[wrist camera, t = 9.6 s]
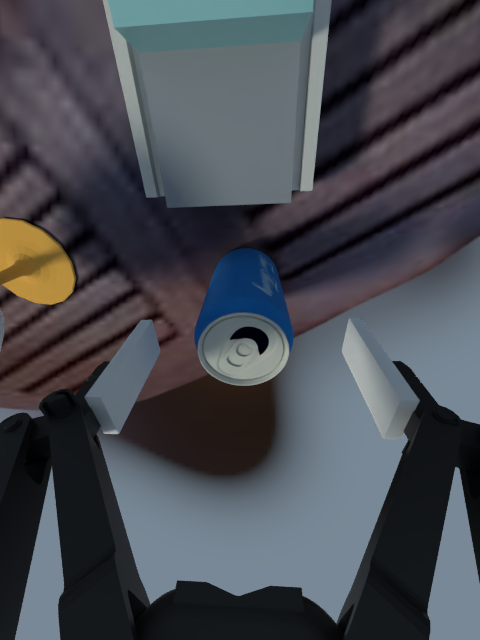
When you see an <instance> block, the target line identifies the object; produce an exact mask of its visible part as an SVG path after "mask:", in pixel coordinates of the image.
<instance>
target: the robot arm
mask: <svg viewBox="0 0 480 640" xmlns="http://www.w3.org/2000/svg"><path fill="white" fill-rule="evenodd" d="M342 353H343V355H344V357H345V359H346V362H347V364H348V366H349V368H350V370H351V372H352V374H353V376H354V378H355V381H356V383H357V385H358V387H359V389H360V391H361V393H362V395H363V397H364V399H365V402H366V404H367V406H368V408H369V410H370V412H371V414H372V416H373V419H374V421H375V423H376V425H377V427H378V429H379V431H380V433H381V435H382V437H383V439H390V440H391V439H392V440H400V439H401V437H402V435H403V433H405V435H406V436H407V438H408V442H407V444H406V445H405V447H404V449H403V451H402V457H401V459H400V462H399V465H398V467H397V470H396V473H395V475H394V478H393V481H392V483H391V486H390V488H389V491H388V493H387V496H386V499H385V501H384V504H383V507H382V509H381V512H380V515H379V517H378V520H377V522H376V525H375V528H374V530H373V533H372V535H371V538H370V541H369V543H368V546H367V549H366V551H365V554H364V557H363V559H362V562H361V564H360V567H359V570H358V572H357V575H356V578H355V580H354V583H353V585H352V588H351V590H350V592H349V594H348V597H347V599H346V601H345V603H344V606H343V608H342V610H341V613H340V616H339V618H338V621H337V623H335V622H334V620H333V619H332V618H331V617H330V616H329V615H328V614H327V613H326V612H325V611H324V610H323V609H322V608H321V607H320V606H318V605H317V604H316V603H314V602H313V601H311V600H309V599H308V598H306V597H304V596H302V588H297V587H279V586H269V587H266V588H263V589H260V590H257V591H254V592H251V593H247V594H244V595H242V596H235V595H233V594H231V593H229V592H227V591H224V590H222V589H220V588H218V587H216V586H214V585H211V584H210V583H207V582H194V581H177V584H176V589H174V590H171V591H169V592H167V593H166V594H164V595H162V596H161V597H159V598H158V599H156V600H155V601H154V602H153V603H152V604H151V605H150V602H149V599H148V597H147V593H146V591H145V588H144V586H143V584H142V582H141V579H140V577H139V574H138V571H137V567H136V564H135V561H134V557H133V554H132V550H131V547H130V543H129V540H128V537H127V533H126V530H125V526H124V523H123V519H122V516H121V513H120V509H119V506H118V502H117V499H116V496H115V492H114V489H113V485H112V482H111V478H110V475H109V472H108V468H107V465H106V462H105V458H104V455H103V451H102V448H101V445H100V441H99V438H98V436H97V434H96V433H97V432H98V430H99V428H100V427H101V428H102V430H103V432H104V434H119V432H120V431H121V429H122V427H123V424H124V423H125V421H126V419H127V416H128V415H129V413H130V411H131V409H132V407H133V405H134V403H135V401H136V399H137V397H138V395H139V393H140V391H141V389H142V387H143V385H144V383H145V381H146V379H147V377H148V375H149V373H150V371H151V369H152V367H153V365H154V363H155V361H156V359H157V357H158V355H159V354H160V348H159V344H158V341H157V337H156V333H155V330H154V326H153V322H152V320H141V321H140V322H139V324H138V325H137V326H136V328H135V329H134V330H133V332H132V333H131V334H130V336H129V337H128V338H127V340H126V341H125V343H124V344H123V345H122V347H121V348H120V349H119V351H118V352H117V353H116V355H115V356H114V357H113V359H112V360H111V362H103V363H102V364H101V365H99V366H98V367H97V368H96V369H95V370H94V371H93V373H92V374H91V376H90V377H89V378H88V379H87V381H86V382H85V383H84V384H83V385H82V387H81V388H80V389H79V391H78V392H77V393H76V394H75V396H74V394H73V392H72V391H71V390H69V389H61V390H58V391H55V392H53V393H51V394H49V395H48V396H47V397H45V398H44V399H43V400H42V402H41V403H40V405H39V409H40V410H41V411H42V413H43V414H44V416H41V417H37V418H33V419H32V418H31V417H30V416H29V415H28V414H27V413H18V414H15V415H13V416H10V417H9V418H7V419H5V420H4V421H2V422H1V423H0V640H15V635H16V631H17V626H18V621H19V616H20V612H21V607H22V602H23V598H24V593H25V588H26V583H27V579H28V574H29V570H30V565H31V561H32V556H33V551H34V546H35V542H36V537H37V532H38V528H39V523H40V518H41V514H42V509H43V504H44V499H45V495H46V490H47V486H48V481H49V476H50V472H51V467H52V470H53V479H54V489H55V498H56V508H57V518H58V527H59V536H60V547H61V557H62V566H63V577H64V592H63V593H62V595H61V596H60V599H59V604H58V611H59V612H58V614H59V627H60V639H61V640H429V635H430V620H429V617H428V615H427V608H428V602H429V597H430V592H431V587H432V582H433V576H434V572H435V567H436V561H437V556H438V551H439V546H440V541H441V536H442V531H443V526H444V520H445V516H446V511H447V506H448V500H449V495H450V490H451V485H452V480H453V475H454V470H455V467H458V468H459V469H460V474H461V480H462V486H463V491H464V497H465V503H466V508H467V514H468V519H469V525H470V531H471V536H472V542H473V547H474V553H475V559H476V565H477V570H478V575H479V582H480V424H476V423H472V422H468V421H464V420H461V419H460V418H459V416H458V415H456V414H455V413H454V412H453V411H451V410H449V409H447V408H446V407H442V406H440V405H438V404H437V402H436V401H435V400H434V398H433V397H432V396H431V395H430V393H429V392H428V391H427V389H426V388H425V387H424V386H423V384H422V383H420V380H419V379H418V378H417V377H416V375H415V374H414V373H413V371H412V370H411V369H410V368H409V367H408V366H407V365H405V364H404V363H403V362H401V361H391V359H390V358H389V357H388V355H387V354H386V352H385V351H384V350H383V348H382V347H381V345H380V344H379V343H378V341H377V340H376V338H375V337H374V335H373V334H372V332H370V330H369V328H368V327H367V325H366V324H365V323H364V321H363V320H362V318H349V321H348V326H347V330H346V334H345V339H344V343H343V348H342Z"/></svg>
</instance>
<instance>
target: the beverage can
mask: <svg viewBox="0 0 480 640" xmlns="http://www.w3.org/2000/svg"><path fill="white" fill-rule="evenodd" d="M194 336H195V345H196V348H197V350H198V357H199V360H200V362H201V364H202V365H203V367H204V368H205V369H206V371H207V372H208V373H210V374H211V375H212V376H213V377H215V378H217V379H219V380H220V381H223V382H226V383H229V384H233V385H243V386H248V385H255V384H259V383H263V382H265V381H268V380H269V379H271V378H273V377H274V376H276V375H277V374H278V373H279V372H280V371H281V370H282V369H283V368H284V366H285V364H286V362H287V360H288V357H289V353H290V351H291V348H292V344H293V330H292V325H291V322H290V318H289V314H288V310H287V306H286V302H285V299H284V295H283V291H282V287H281V283H280V279H279V275H278V272H277V269H276V266H275V264H274V263H273V261H272V260H271V259H270V258H269V257H268V256H267V255H266V254H264V253H262V252H261V251H258V250H255V249H251V248H241V249H236V250H233V251H231V252H229V253H227V254H226V255H225V256H223V257H222V258H221V259H220V261H219V262H218V263H217V265H216V267H215V270H214V273H213V276H212V279H211V282H210V285H209V288H208V291H207V294H206V297H205V300H204V303H203V306H202V309H201V312H200V315H199V318H198V321H197V324H196V327H195V333H194Z"/></svg>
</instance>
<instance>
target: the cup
mask: <svg viewBox="0 0 480 640" xmlns="http://www.w3.org/2000/svg"><path fill="white" fill-rule="evenodd" d="M75 282H76V275H75V271H74V268H73V264H72V261H71V260H70V258H69V257H68V255H67V254H66V252H65V251H64V249H63V248H62V246H61V245H60V244H59V243H58V242H57V241H56V240H55V239H53V238H52V237H51V236H50V235H49V234H48V233H46V232H45V231H44V230H43V229H40V228H38V227H36V226H34V225H32V224H30V223H28V222H26V221H24V220H17V219H9V218H2V219H0V285H3V286H5V287H6V288H8V289H9V290H10V291H12V292H13V293H14V294H16V295H17V296H20V297H22V298H24V299H27V300H29V301H32V302H34V303H41V304H50V305H51V304H55V303H58V302H62V301H65V300H66V299H67V298H68V297H69V296H70V295H71V294H72V293H73V292H74V287H75ZM3 336H4V317H3V313H2V311H1V309H0V350H1V346H2V341H3Z"/></svg>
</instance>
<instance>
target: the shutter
mask: <svg viewBox="0 0 480 640" xmlns="http://www.w3.org/2000/svg"><path fill="white" fill-rule="evenodd" d="M108 2H109V7H110V12H111V16H112V21H113V26H114V28H115V29H116V30H117V31H118V32H119V33H120V34H121V35H122V36H123V37H124V38H125V39H126V40H127V41H128V42H129V43H130V44H131V45H132V47H133V48H134V49H135V50H136V51H137V52H138V53H139V56H140V62H141V67H142V73H143V78H144V84H145V89H146V95H147V100H148V105H149V111H150V116H151V122H152V127H153V133H154V138H155V144H156V149H157V155H158V160H159V166H160V171H161V177H162V182H163V187H164V193H165V198H166V204H167V208H177V207H201V206H225V205H250V204H274V203H291V192H292V176H293V159H294V143H295V127H296V111H297V95H298V79H299V63H300V46H301V39H302V37H303V34H304V32H305V30H306V27H307V25H308V22H309V20H310V17H311V15H312V13H313V3H314V0H108Z"/></svg>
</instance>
